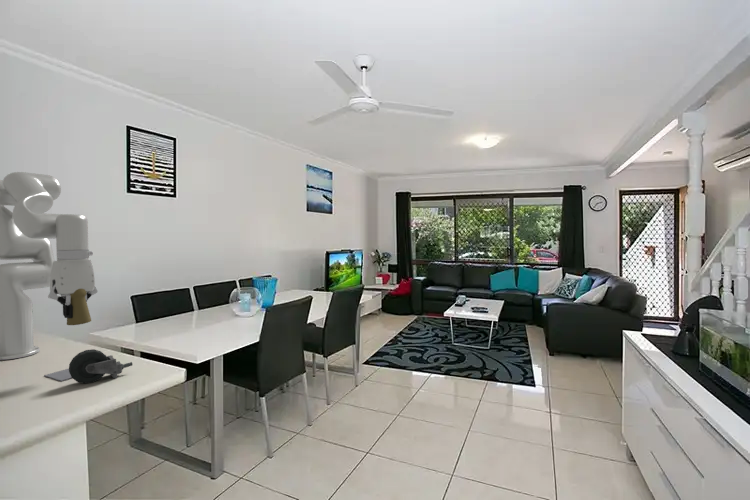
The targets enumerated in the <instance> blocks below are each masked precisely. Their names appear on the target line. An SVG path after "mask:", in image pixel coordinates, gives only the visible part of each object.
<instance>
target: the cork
mask: <svg viewBox="0 0 750 500" xmlns="http://www.w3.org/2000/svg"><path fill="white" fill-rule="evenodd" d="M86 294H87V292H86V290H85V289H78V290H76V291H75V292H74V293H73V294H70V296H71V300H70V304H71V305H72V306H73V317H72V318H66V325H67V326H79V325H84V324H88V323H90V322H92V317H91V314H90V310H89V306H88V303H87V302H88V301H87V302H86V299H85V296H86Z"/></svg>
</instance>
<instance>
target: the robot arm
mask: <svg viewBox="0 0 750 500" xmlns="http://www.w3.org/2000/svg"><path fill="white" fill-rule="evenodd" d="M61 193H62V187H61V184H60V182H59V180H58V179H57V178H56V177H54V176H52V175H48V174H42V173H33V172H26V171H25V172H23V171H15V172H10V173H9V174H8V173H7V174H6V176H5V177H3V179H2V180H1V179H0V260H1V261H17V260H18V261H19V260H20V261H21V260H31V262H30V261H29V262H26V261H25V262H8V263H7V262H6V263H2V264H0V361H3V360H5V361H7V360H13V359H21V358H25V357H29V356H32V355H36V354H38V353H39V352H40V347H39V346H38V345H34V315H33V314H34V313H33V311H34V310H33V309H34V308H33V302H32V299H31V298H30V297H29V296H28V295H27V294H26V293H24V291H26V290H27V291H28V290H36V289H43V288H44V289H46V288H49V293H48V296H47V297H48V299H50V300H54V301H57V302H58V303H60V305H62V316H64V318H65V319H67V318H72V317H73V306H72V305H71V304H70V300H71V296H70V294H73V293H74V292H75V291H76V290H78V289H85V290H86V292H87V294H86V296H85V299H86V302H88V300H89V299H90V298H91V297H92V296H94V295H96V294H97V293H98V289H97V288H96V281H95V272H94V267H93V262H92V261H91V259H89V258H90V257H91V256H93V251H92V250H91V251H90V249H89V226H88V224H89V222H88V221H89V220H88V218H87V216H86V215H83V214H68V213H67V214H63V213H62V214H61V213H60V214H59V213H46V212H48V211H49V210H50V209H51V208H52V207H53V205H54V201H55V200H56V199H58V198H59V197H60V195H61ZM6 206H12V207H13V209H12V211H11V210H10V209H9V208H7V207H6ZM50 239H55V240H56V242H55V245H56V246H55V247H56V260H55V257H54V252H53V251H54V250H53V247H52V244H51V241H50ZM32 261H33V262H32ZM59 295H60V296H59Z"/></svg>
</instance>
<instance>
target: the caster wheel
mask: <svg viewBox="0 0 750 500" xmlns="http://www.w3.org/2000/svg"><path fill="white" fill-rule="evenodd" d="M132 366H133V362H132V361H131V362H125V363H121V362H120V361H117V358H114V357H113V355H106V354H104V353H103V351H101V350H97V349H92V348H91V349H85V350H82V351H81V352H79V353H77V354H76V355H75V356H73V357H72V359H71V361H70V362H69V365H68V369H69V373H70V375H71V377H72V379H73V380H74V381H75V382H76V383H78V384H79V383H81V384H91V383H94V382H96V381H99V380H101V378H103V377H104V375H110V376H111V377H112V379H117V378H118V375H120V374H122V373H123V370H124V369H125V368H128V367H132Z"/></svg>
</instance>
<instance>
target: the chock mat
mask: <svg viewBox="0 0 750 500" xmlns="http://www.w3.org/2000/svg"><path fill="white" fill-rule="evenodd" d="M43 377H45V378H49V379H52V380H56V381H59V382H64V381H67V380H72V379H73V378H72V377H71V375H70V373H69V368H66V369H62V370H59V371H55V372H52V373H47V374H44V375H43Z"/></svg>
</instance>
